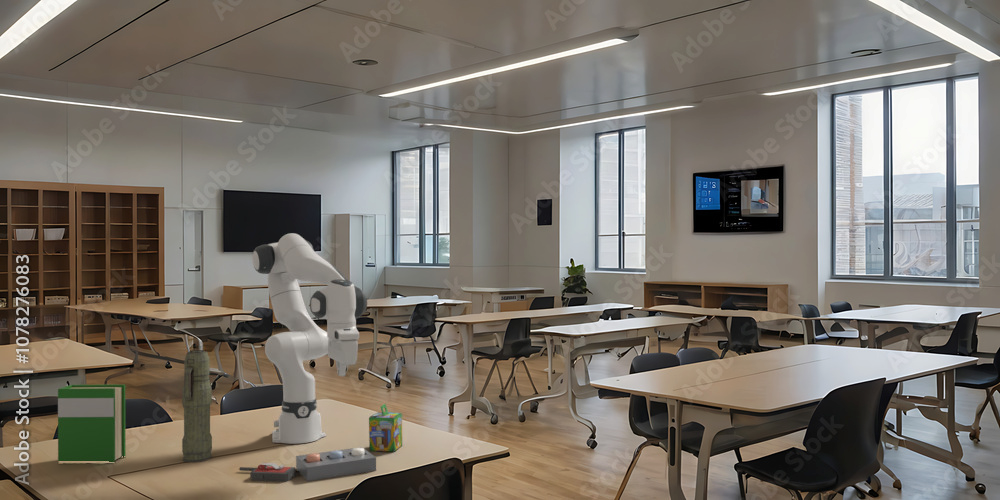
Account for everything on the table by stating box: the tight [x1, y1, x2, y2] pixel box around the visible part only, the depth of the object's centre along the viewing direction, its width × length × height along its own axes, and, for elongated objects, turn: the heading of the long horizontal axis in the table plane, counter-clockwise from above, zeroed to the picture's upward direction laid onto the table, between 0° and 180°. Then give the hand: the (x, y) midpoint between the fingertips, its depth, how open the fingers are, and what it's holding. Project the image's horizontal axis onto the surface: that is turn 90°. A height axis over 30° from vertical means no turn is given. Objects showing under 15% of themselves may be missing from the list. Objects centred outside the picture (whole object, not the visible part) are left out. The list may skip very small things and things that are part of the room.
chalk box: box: [368, 403, 403, 453], centre depth 248 cm, size 9×9×15 cm
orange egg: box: [305, 452, 320, 463], centre depth 220 cm, size 4×4×3 cm
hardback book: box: [57, 383, 127, 462], centre depth 235 cm, size 18×7×24 cm, turn 90°
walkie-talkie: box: [238, 462, 301, 483], centre depth 217 cm, size 9×4×20 cm
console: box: [295, 446, 377, 482], centre depth 224 cm, size 14×21×4 cm, turn 119°
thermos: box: [181, 349, 213, 463], centre depth 237 cm, size 9×12×35 cm
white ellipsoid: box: [351, 447, 365, 457], centre depth 227 cm, size 4×4×3 cm
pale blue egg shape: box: [328, 449, 343, 460], centre depth 224 cm, size 4×4×3 cm
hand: (341, 375), depth 228 cm, fingers closed
